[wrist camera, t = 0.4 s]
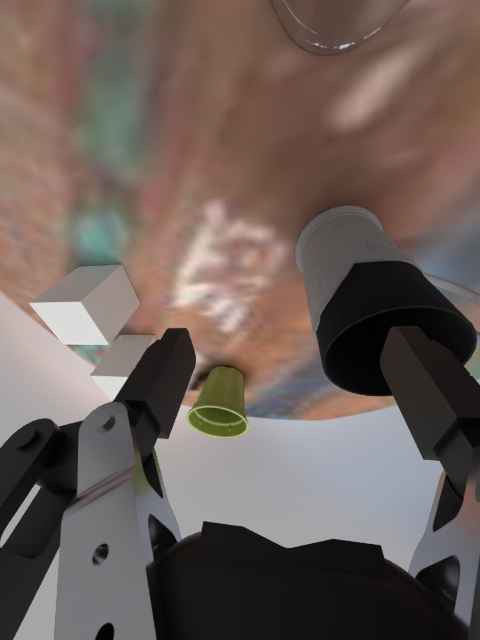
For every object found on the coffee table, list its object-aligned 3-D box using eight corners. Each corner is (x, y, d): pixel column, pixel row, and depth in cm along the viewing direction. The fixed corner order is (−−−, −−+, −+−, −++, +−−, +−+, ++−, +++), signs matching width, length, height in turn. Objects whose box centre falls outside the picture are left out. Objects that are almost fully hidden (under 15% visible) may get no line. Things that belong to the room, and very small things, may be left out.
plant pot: (189, 370, 41) (173, 417, 34) (228, 350, 36) (218, 400, 30) (224, 396, 45) (216, 442, 38) (263, 381, 40) (261, 430, 34)
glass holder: (303, 203, 22) (334, 286, 10) (463, 210, 21) (695, 312, 9) (289, 283, 27) (299, 394, 16) (414, 292, 26) (521, 418, 15)
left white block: (79, 266, 29) (28, 302, 23) (122, 264, 28) (80, 301, 22) (102, 304, 33) (63, 344, 27) (140, 303, 32) (109, 344, 26)
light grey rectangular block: (120, 334, 37) (89, 375, 31) (154, 334, 36) (130, 377, 30) (135, 359, 41) (110, 400, 35) (166, 360, 40) (147, 402, 34)
